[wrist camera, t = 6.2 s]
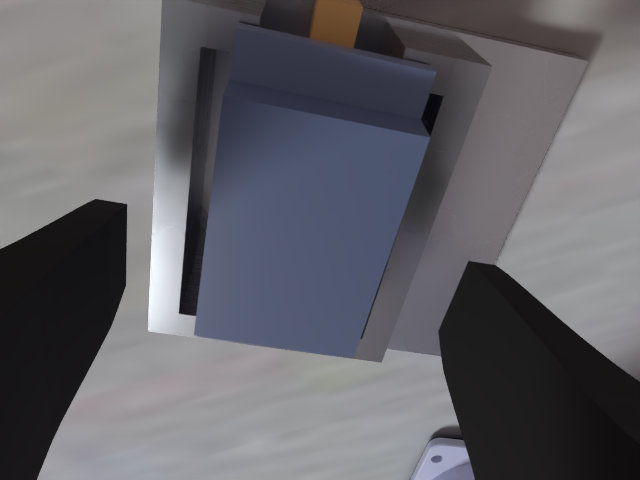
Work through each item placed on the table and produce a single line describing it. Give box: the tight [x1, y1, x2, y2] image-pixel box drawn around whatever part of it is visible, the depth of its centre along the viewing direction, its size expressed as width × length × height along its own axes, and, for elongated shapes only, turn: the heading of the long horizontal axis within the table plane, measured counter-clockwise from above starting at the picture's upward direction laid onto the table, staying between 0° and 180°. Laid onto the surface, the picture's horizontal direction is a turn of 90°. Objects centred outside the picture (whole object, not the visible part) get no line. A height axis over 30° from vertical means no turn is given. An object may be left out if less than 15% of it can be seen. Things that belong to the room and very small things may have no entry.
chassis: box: [148, 0, 589, 362], centre depth 15 cm, size 11×11×4 cm
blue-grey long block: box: [194, 0, 437, 358], centre depth 13 cm, size 9×4×4 cm, turn 168°
